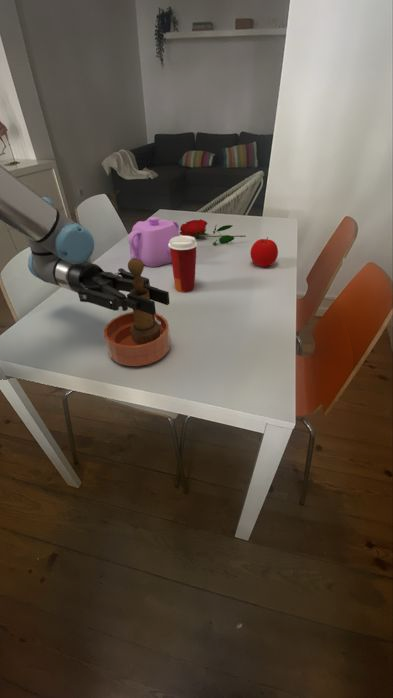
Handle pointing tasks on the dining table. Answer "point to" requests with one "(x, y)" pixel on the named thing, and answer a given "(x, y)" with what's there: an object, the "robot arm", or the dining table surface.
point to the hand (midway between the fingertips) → (160, 303)
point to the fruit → (264, 252)
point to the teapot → (153, 241)
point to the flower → (198, 228)
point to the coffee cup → (183, 262)
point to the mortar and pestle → (144, 323)
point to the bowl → (127, 349)
